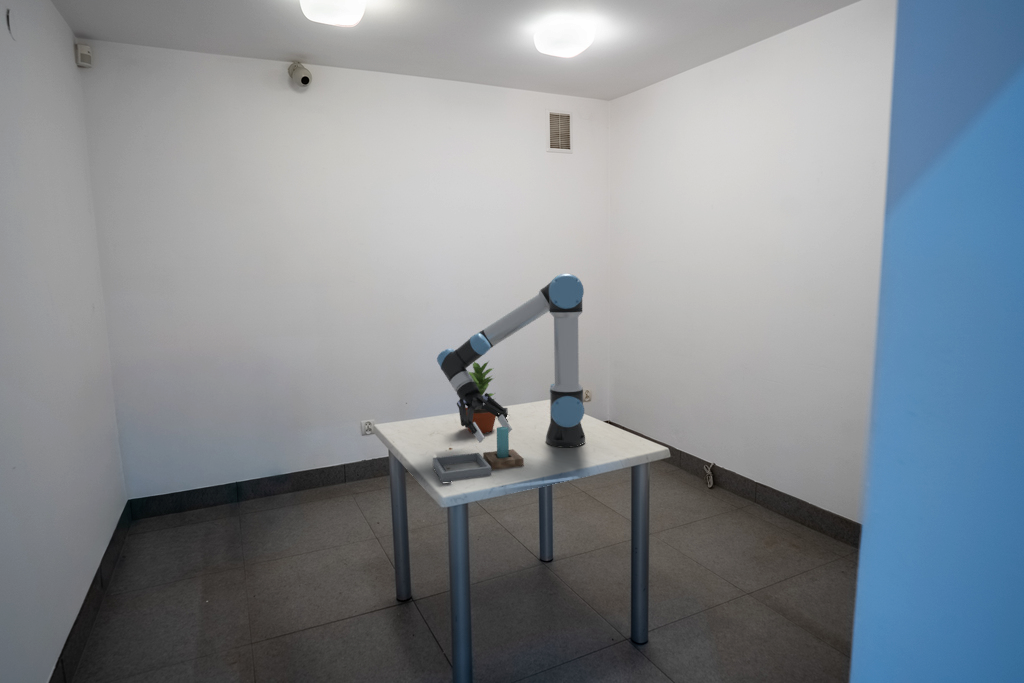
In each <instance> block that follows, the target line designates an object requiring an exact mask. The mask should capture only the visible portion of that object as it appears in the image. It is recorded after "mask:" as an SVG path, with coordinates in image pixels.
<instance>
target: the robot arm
mask: <svg viewBox="0 0 1024 683" xmlns="http://www.w3.org/2000/svg"><path fill="white" fill-rule="evenodd" d="M584 293H585V292H584V285H583V284H582V280H580V279H579V278H578V277H577V276H576V275H573V274H571V273H560V274H559V275H557V276H555V277H554V278H553V279H552V280H551V281H550V282H549V283H548V284H547V285H544V287H542V288H541V289H539V291H538V294H536V295H535V296H534V297H532V298H530V299H529V300H527V301H526V302H524V303H523V304H521V305H520V306H518V307H516V308H515V309H513V310H511V311H510V312H508V313H507V314H505V315H503V316H502V317H501V318H499V319H498V320H496V321H495V322H492V323H491V324H490V325H488V326H487V327H485V328H484V329H482V330H481V331H479V332H477V333H475V334H474V335H472V336H471V337H470V338H469V339H467V341H465V342H464V343H463V344H462V345H460V346H459V347H458V348H457V349H455V350H454V349H453V348H446V349H444V350H442V351H441V352H439V354H438V355H437V358H436V362H437V363H438V365H439V367H440V370H441V371H442V372H443V374H444V375H445V377H446V379H447V380H448V381H449V384H450V385H451V386H452V388H453V390H454V391H455V392H456V395H457V397H458V398H459V400H458V401H457V402H456V405H457V408H458V412H459V419H460V425H461V426H462V427H464V428H465V429H468V427H469V429H470V431H471V432H472V433H471V432H470V433H471V434H473V435H474V437H475V438H476V440H477V441H478V443H482V442H483V441H484V439H485V438H486V437H485V436H484V433H482V432H481V431H480V429H479V428H478V426H477V424H476V423H475V422H473V413H474V410H476V409H480V408H481V409H485V410H486V411H488V412H490V413H491V414H493V415H495V416H496V418H498V420H497V421H498V423H499V424H500V427H508V434H510V432H512V431H513V428H512V427H511V425H510V423H509V419H508V420H507V419H506V417H505V416H504V413H505V412H506V409H504V408H505V407H503V406H502V405H501V404H499V403H498V402H497V401H496V399H494V398H492V396H491V397H490V396H489V394H490V393H488V392H484V394H483V395H481V394H480V393H479V388H478V387H477V385H476V383H475V382H473V381H474V380H473V379H472V377H471V376H470V374H469V372H468V371H469V370H468V369H467V368H468V367H469V366H471V365H473V363H474V361H475V362H476V361H477V360H478V359H480V358H481V357H482V356H484V355H485V354H486V353H487V352H489V351H490V349H492V348H494V347H495V346H496V345H498V344H499V343H501V342H502V341H504V340H506V339H507V338H510V336H512V335H514V334H515V333H517V332H519V331H520V330H523V328H525V327H526V326H528V325H530V324H531V323H532V322H534V321H536V320H537V319H539V318H541V317H542V316H544V315H545V314H547V313H549V314H550V315H551V316H552V317H553V345H554V347H553V348H554V350H553V351H554V356H553V358H554V383H552V384H550V388H549V396H550V397H549V399H550V400H549V402H550V411H549V412H550V413H549V414H550V415H549V416H550V422H549V426H548V429H547V432H546V435H545V442H546V443H547V445H550V446H552V445H553V446H554V447H557V446H562V447H561V448H571V447H570V446H576V447H578V446H577V445H580V444H582V443H584V442H585V443H586V435H585V432H584V428H583V426H582V420H583V417H584V416H585V406H584V387H583V385H581V384H580V382H579V381H580V380H579V378H580V377H579V373H580V372H579V366H580V365H579V361H580V360H579V317H580V315H581V314H582V313H583V297H584ZM493 399H494V400H493ZM467 407H468V408H467ZM466 408H467V414H466ZM472 422H473V423H472ZM585 443H584V444H585ZM580 446H581V445H580Z"/></svg>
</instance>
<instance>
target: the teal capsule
mask: <svg viewBox="0 0 1024 683" xmlns="http://www.w3.org/2000/svg"><path fill="white" fill-rule="evenodd" d="M509 441H510V440H509V433H508V427H502V426H497V427H496V451H497V458H498V459H499V458H507V457H509V450H510V448H509V446H510V444H509V443H510V442H509Z"/></svg>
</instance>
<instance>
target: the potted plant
mask: <svg viewBox="0 0 1024 683" xmlns="http://www.w3.org/2000/svg"><path fill="white" fill-rule="evenodd" d="M489 362H490V360H488V361H487V362H485V363H483V364H482V366H481V365H480V363H477V362H476V361H474V362H473V363H472V368H473V372H471V371H469V370H467V371H468V373H469V374H470V376H471V377H472V379H473V380H474V381H473V382H475V383H476V385H477V387H478V388H479V393H480V394H481V395H482V396H483V395H485V393H486V392H485V391H487V389H488V387H489V386H490V385H489V383H490V382H491V381H492V380H494V379H495V377H493V378H491V377H492V375H490V376H488V377H486V376H487V375H488V374H489V373H490V372H491V371H493V368H488V369H486V367H487V365H488V363H489ZM488 394H489V396H490V397H491V398H492V396H494V395H495V394H496V392H494V393H488ZM492 399H493V400H495V398H492ZM467 408H468V407H467V406H466V414H467ZM496 419H497V416H495V415H493V414H491V413H490V412H488V411H486V410H485V409H481V408H480V409H476V410H474V413H473V422H475V423H476V424H477V426H478V428H479V429H480V431H481V432H482V434H487V433H486V432H488V433H491V432H493V430H494V426H495V422H496ZM473 422H472V423H473ZM467 429H468V432H469V431H470V429H469V427H468V428H467ZM490 431H491V432H490ZM469 433H471V431H470V432H469Z"/></svg>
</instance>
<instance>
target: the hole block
mask: <svg viewBox="0 0 1024 683" xmlns="http://www.w3.org/2000/svg"><path fill="white" fill-rule="evenodd" d="M482 457H483V458H484V459H485V461H486V462H487V463H488V464H489V465H490V466H491V471H493V470H495V471H496V470H502V469H503V470H504V469H509V468H517V467H525V466H524V457H522V456H521V455H520V454H519V453H518V452H517V451H516V450H514V449H513V448H512V449H509V457H507V458H499V459H498V458H497V450H495V451H493V450H492V451H486V452H483V453H482Z"/></svg>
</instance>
